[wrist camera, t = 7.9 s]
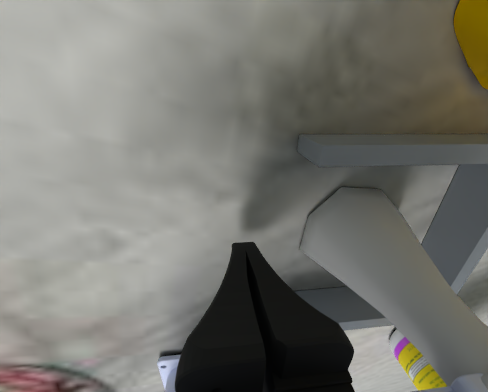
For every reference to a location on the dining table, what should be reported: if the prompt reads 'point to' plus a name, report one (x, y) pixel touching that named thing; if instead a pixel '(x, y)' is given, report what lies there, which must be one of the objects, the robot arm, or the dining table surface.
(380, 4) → the dining table surface
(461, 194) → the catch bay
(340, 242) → the flask
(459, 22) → the figure statuette
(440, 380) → the supplement bottle
